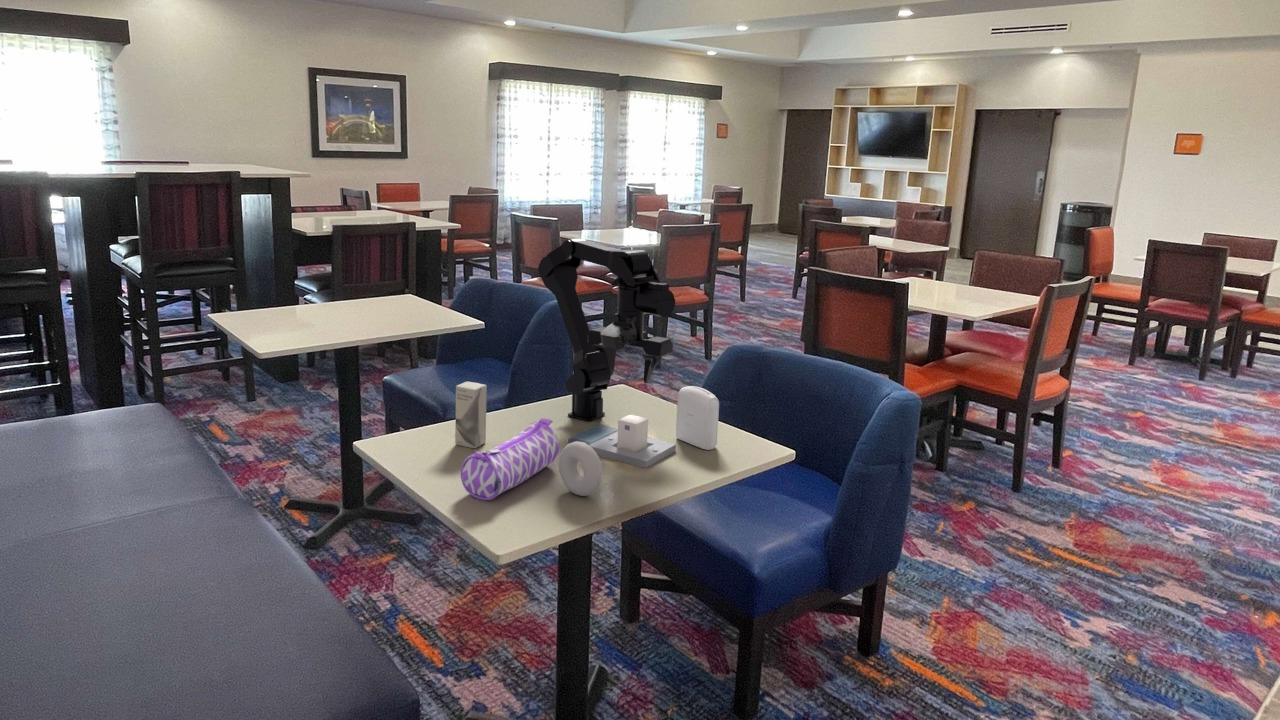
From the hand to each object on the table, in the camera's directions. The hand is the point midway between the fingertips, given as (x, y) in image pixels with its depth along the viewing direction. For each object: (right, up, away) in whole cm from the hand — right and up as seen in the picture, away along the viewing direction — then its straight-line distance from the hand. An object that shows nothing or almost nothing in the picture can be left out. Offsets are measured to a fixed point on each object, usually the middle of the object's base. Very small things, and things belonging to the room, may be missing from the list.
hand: (628, 379), depth 181 cm
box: (-33, -14, -9) cm, 36 cm away
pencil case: (-22, -19, -26) cm, 39 cm away
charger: (+1, -15, -9) cm, 17 cm away
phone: (-7, -13, -2) cm, 15 cm away
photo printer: (+15, -14, -3) cm, 20 cm away
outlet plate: (+1, -15, -9) cm, 18 cm away
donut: (-8, -20, -31) cm, 38 cm away
